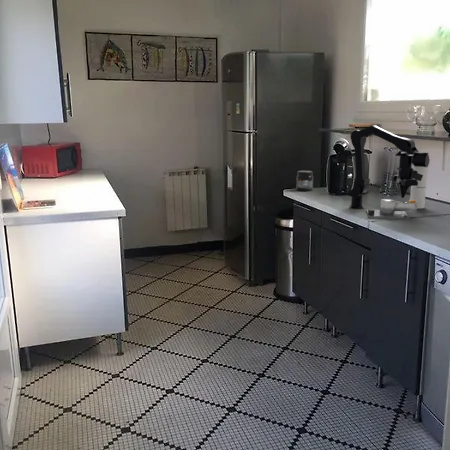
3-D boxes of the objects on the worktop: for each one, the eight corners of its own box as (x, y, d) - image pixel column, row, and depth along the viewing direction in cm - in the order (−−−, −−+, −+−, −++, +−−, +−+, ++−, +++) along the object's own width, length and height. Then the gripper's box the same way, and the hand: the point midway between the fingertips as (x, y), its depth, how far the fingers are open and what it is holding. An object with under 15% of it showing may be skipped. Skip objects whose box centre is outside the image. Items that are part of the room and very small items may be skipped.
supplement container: (305, 188, 317) (305, 170, 314) (316, 190, 308) (317, 171, 305) (292, 189, 311) (293, 171, 308) (303, 192, 303) (304, 172, 300)
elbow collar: (380, 213, 232) (381, 200, 230) (378, 210, 238) (379, 198, 237) (416, 215, 229) (418, 201, 227) (414, 212, 235) (415, 199, 234)
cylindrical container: (413, 205, 259) (417, 158, 254) (426, 207, 254) (431, 159, 249) (407, 207, 254) (411, 159, 249) (420, 209, 249) (424, 160, 244)
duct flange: (365, 211, 244) (365, 204, 243) (403, 212, 241) (404, 205, 240) (368, 218, 229) (368, 210, 228) (409, 219, 225) (410, 212, 225)
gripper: (430, 167, 225) (427, 201, 229) (413, 163, 243) (410, 194, 247) (406, 168, 225) (403, 201, 229) (391, 163, 243) (389, 194, 247)
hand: (402, 197), depth 238 cm, fingers closed
